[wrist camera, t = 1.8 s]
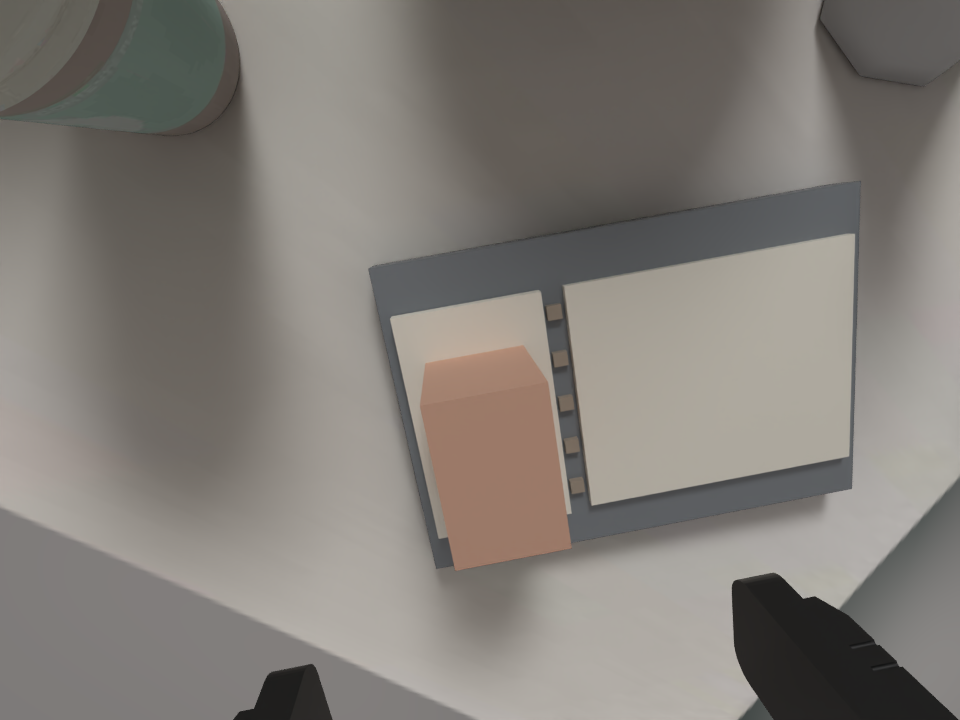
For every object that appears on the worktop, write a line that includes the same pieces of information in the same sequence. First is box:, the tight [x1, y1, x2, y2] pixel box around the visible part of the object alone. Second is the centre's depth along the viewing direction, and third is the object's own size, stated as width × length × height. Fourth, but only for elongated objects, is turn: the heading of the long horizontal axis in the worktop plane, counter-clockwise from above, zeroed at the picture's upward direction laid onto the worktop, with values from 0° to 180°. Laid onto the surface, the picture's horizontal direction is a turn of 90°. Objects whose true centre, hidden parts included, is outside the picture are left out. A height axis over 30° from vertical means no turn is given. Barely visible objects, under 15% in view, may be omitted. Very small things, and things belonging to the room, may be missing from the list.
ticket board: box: [369, 181, 861, 569], centre depth 22 cm, size 20×14×2 cm
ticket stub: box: [390, 290, 572, 571], centre depth 19 cm, size 6×10×6 cm, turn 10°
